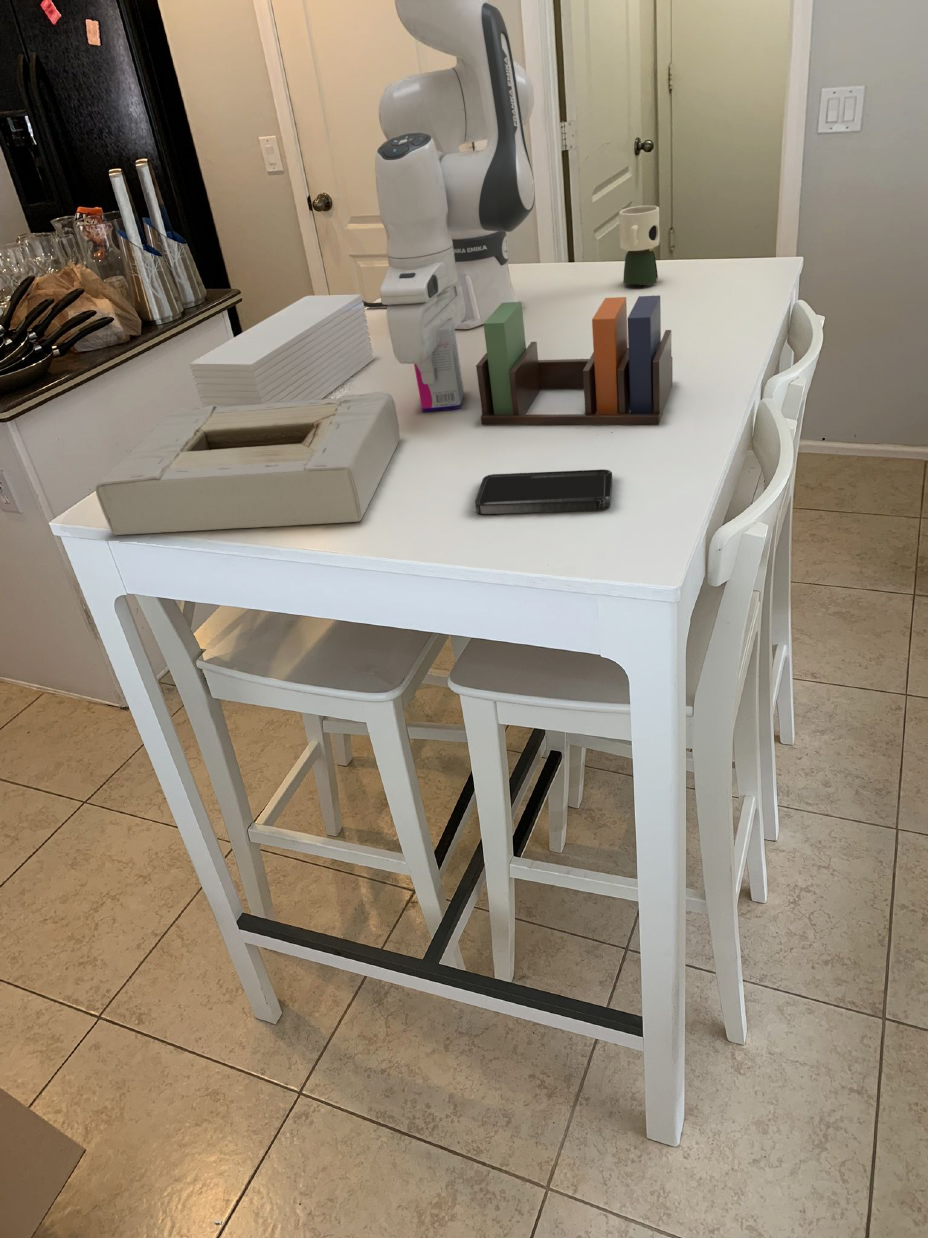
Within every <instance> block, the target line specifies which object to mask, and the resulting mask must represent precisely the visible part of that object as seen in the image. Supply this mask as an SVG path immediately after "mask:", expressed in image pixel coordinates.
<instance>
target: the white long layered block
mask: <svg viewBox="0 0 928 1238" xmlns="http://www.w3.org/2000/svg"><path fill="white" fill-rule="evenodd" d="M362 300H363V301H364V299H363V294H323V295H305V296H303V297H302V298H300V299H298V300H297V301H294V302H293V303H291V304H289V305H288V306H286V307H284V308H283V309H281V310H279V311H278V312H276V313H274V314H272V315H271V316H268V317H267V318H265V319H263V320H262V321H260V322H258V323H256V324H255V325H253V326H252V327H250V328H248V329H246V330H244V331H243V332H241V333H240V334H238V335H236V336H234V337H233V338H231V339H228V341H225V342H224V343H222V344H220V345H219V346H217V347H215V348H213V349H211V350H210V351H209V352H207V353H204V354H203V355H201V356H200V357H198V358H196V359H194V360H193V361H191V362H189V364H188V365H189V368H190V370H191V374H192V377H193V381H194V383H195V387H196V390H197V394H198V396H199V401H200V403H201V407H206V406H216V407H231V406H244V405H256V404H268V403H282V402H294V401H307V400H320V399H324V398H325V397H326V396H328V395H329V394H330V393H332V392H333V391H334V390H335V389H337V388H338V387H339V386H341V385H342V384H343V383H345V382H346V381H348V380H349V379H351V377H352V376H354V375H355V374H357V373H358V372H359V371H360V370H362V369H363V368H365V367H366V366H367V365H368V364H370V363H371V362H372V361H374V360H375V356H374V354H373V353H374V351H373V348H372V342H371V337H370V331H369V324H368V320H367V315H366V314H367V313H366V308H365V306H364V303H363V301H362Z"/></svg>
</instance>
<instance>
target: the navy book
mask: <svg viewBox="0 0 928 1238" xmlns="http://www.w3.org/2000/svg"><path fill="white" fill-rule="evenodd" d="M661 310H662V309H661V295H660V294H659V295H640V296H638V297H637V299H636V301H635V303H634V305H633V307H632V309H631V311H630V312H629V315H627V337H628V351H629V384H630V412H629V414H654V412H653V360H654V357H655V355H656V353H657V350H658V348H659V345H660V343H661V340H662V332H661V331H662V329H661V328H662V326H661V325H662V324H661V322H662V319H661V317H662V316H661V315H662V313H661V312H662V311H661Z"/></svg>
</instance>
